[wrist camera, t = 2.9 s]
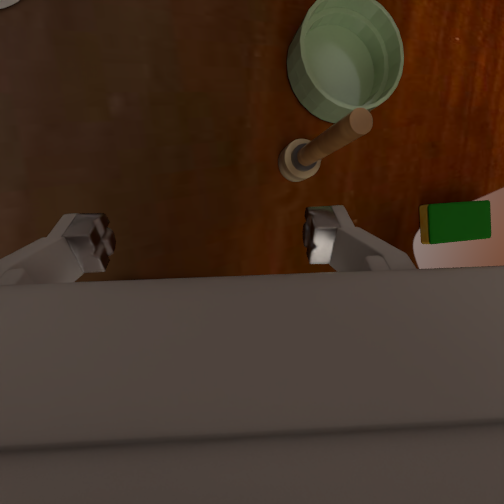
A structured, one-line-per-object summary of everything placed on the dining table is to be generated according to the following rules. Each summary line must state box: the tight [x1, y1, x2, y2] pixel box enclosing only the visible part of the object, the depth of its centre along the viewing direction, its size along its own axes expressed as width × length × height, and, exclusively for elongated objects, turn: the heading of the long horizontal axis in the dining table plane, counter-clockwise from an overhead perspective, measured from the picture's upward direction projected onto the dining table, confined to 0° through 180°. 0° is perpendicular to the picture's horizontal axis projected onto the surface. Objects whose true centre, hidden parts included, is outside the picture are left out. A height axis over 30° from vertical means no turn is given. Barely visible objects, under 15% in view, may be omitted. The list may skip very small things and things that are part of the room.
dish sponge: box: [419, 200, 491, 244], centre depth 57 cm, size 7×14×2 cm, turn 94°
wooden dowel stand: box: [278, 108, 373, 182], centre depth 41 cm, size 6×6×18 cm
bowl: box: [287, 0, 404, 123], centre depth 48 cm, size 17×17×6 cm
